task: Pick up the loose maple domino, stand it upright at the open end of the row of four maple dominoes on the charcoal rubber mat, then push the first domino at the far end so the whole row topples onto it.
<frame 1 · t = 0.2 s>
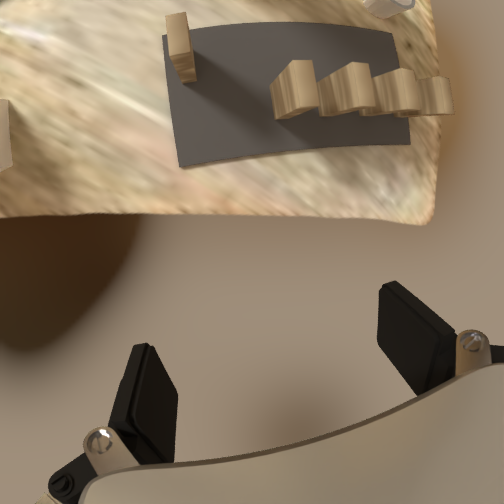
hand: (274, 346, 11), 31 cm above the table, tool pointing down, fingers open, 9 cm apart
end domino: (187, 66, 31), point 1 cm above the table, touching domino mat
domino 1: (396, 102, 36), point 1 cm above the table, touching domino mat
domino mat: (299, 81, 35), on the table
domino 3: (323, 100, 35), point 1 cm above the table, touching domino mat
domino 2: (362, 100, 36), point 1 cm above the table, touching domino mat
domino 4: (279, 102, 35), point 1 cm above the table, touching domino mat
shot glass: (376, 6, 30), on the table
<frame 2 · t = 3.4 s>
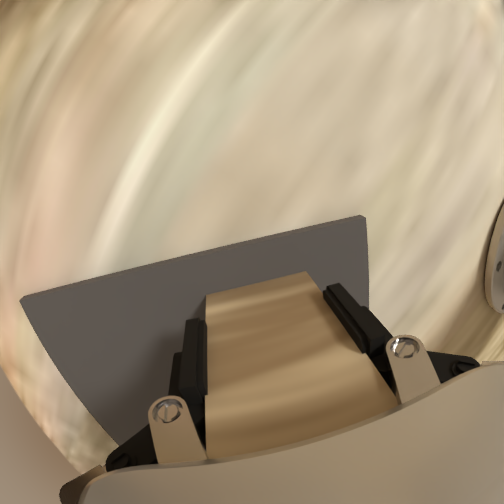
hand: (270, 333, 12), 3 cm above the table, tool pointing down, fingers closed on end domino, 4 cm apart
end domino: (260, 300, 14), point 1 cm above the table, touching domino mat, gripper
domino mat: (245, 451, 20), on the table
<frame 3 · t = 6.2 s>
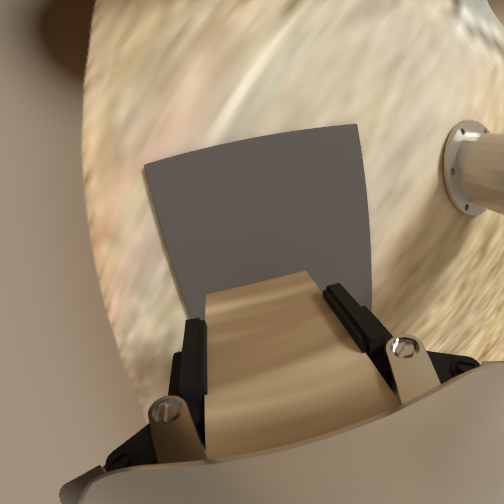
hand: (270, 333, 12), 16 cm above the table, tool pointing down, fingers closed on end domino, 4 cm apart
end domino: (260, 300, 14), point 13 cm above the table, touching gripper
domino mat: (286, 310, 30), on the table
when the fingers open (4 cm above the table, at t = 9.1 s): end domino stays where it is, resting on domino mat.
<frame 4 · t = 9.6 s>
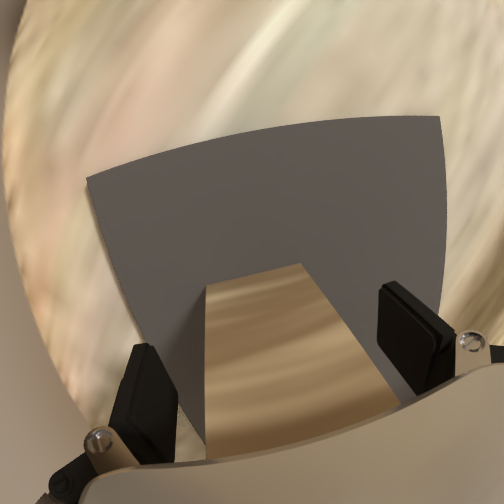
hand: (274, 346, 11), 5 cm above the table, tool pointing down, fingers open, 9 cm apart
end domino: (257, 291, 15), point 1 cm above the table, touching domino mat
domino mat: (319, 389, 19), on the table
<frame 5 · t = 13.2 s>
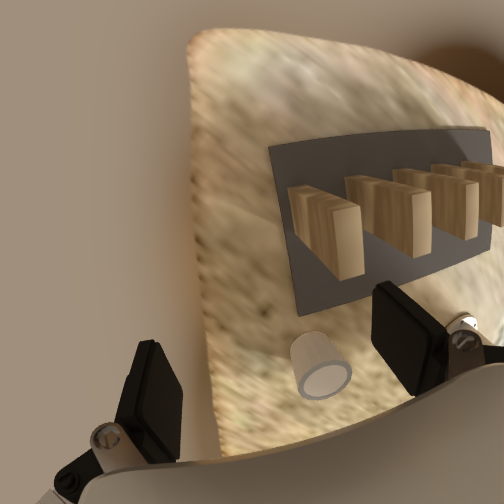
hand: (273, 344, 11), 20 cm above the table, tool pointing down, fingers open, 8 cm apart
end domino: (465, 178, 31), point 1 cm above the table, touching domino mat
domino 1: (300, 209, 30), point 1 cm above the table, touching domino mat
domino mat: (416, 208, 32), on the table
domino 3: (400, 189, 30), point 1 cm above the table, touching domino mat
domino 2: (354, 198, 30), point 1 cm above the table, touching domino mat
domino 4: (436, 182, 31), point 1 cm above the table, touching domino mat
shot glass: (309, 346, 37), on the table
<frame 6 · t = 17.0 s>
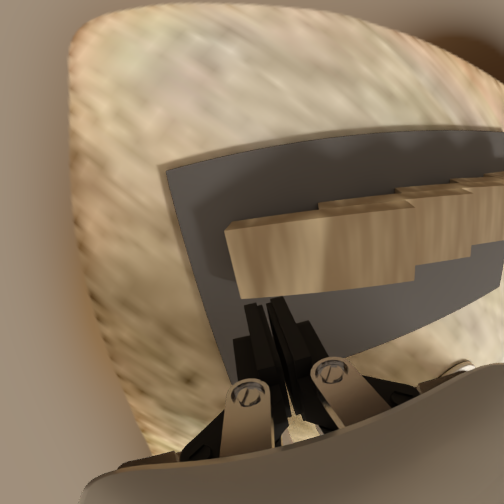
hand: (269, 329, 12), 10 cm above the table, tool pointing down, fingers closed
end domino: (490, 199, 21), point 2 cm above the table, tilted 90°, touching domino 4, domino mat
domino 1: (236, 260, 20), point 2 cm above the table, tilted 71°, touching domino 2, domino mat
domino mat: (404, 245, 23), on the table
domino 3: (400, 221, 20), point 2 cm above the table, tilted 72°, touching domino 2, domino 4, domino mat
domino 2: (322, 239, 20), point 2 cm above the table, tilted 73°, touching domino 1, domino 3, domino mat
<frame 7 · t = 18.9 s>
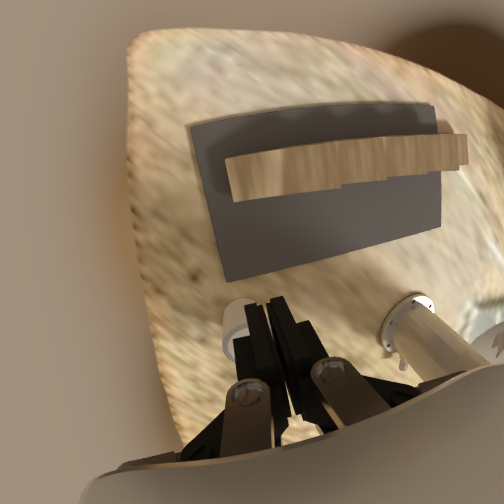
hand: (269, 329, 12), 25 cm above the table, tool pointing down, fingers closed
end domino: (415, 151, 34), point 2 cm above the table, tilted 90°, touching domino 4, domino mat
domino 1: (231, 179, 32), point 2 cm above the table, tilted 71°, touching domino 2, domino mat
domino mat: (345, 180, 36), on the table
domino 3: (336, 160, 33), point 2 cm above the table, tilted 72°, touching domino 2, domino 4, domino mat
domino 2: (284, 168, 32), point 2 cm above the table, tilted 73°, touching domino 1, domino 3, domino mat
domino 4: (381, 154, 33), point 2 cm above the table, tilted 71°, touching domino 3, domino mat, end domino
shot glass: (242, 314, 41), on the table
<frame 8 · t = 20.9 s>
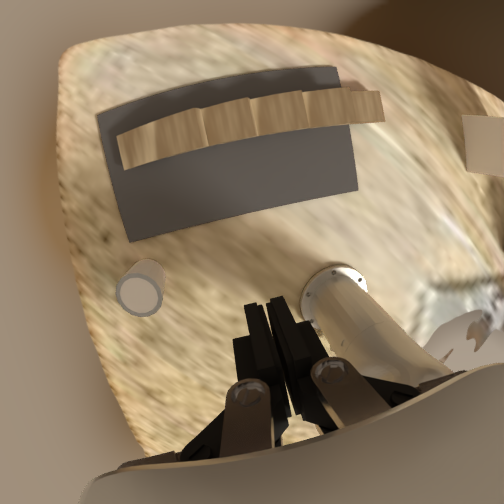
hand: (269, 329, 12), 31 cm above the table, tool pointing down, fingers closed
end domino: (308, 111, 36), point 2 cm above the table, tilted 90°, touching domino 4, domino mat
domino 1: (124, 152, 35), point 2 cm above the table, tilted 71°, touching domino 2, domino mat
milk: (478, 143, 42), on the table
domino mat: (231, 145, 38), on the table
domino 3: (216, 126, 36), point 2 cm above the table, tilted 72°, touching domino 2, domino 4, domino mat
domino 2: (166, 139, 35), point 2 cm above the table, tilted 73°, touching domino 1, domino 3, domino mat
domino 4: (266, 117, 36), point 2 cm above the table, tilted 71°, touching domino 3, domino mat, end domino
shot glass: (148, 274, 43), on the table
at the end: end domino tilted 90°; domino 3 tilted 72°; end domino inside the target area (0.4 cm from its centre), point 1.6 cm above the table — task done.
